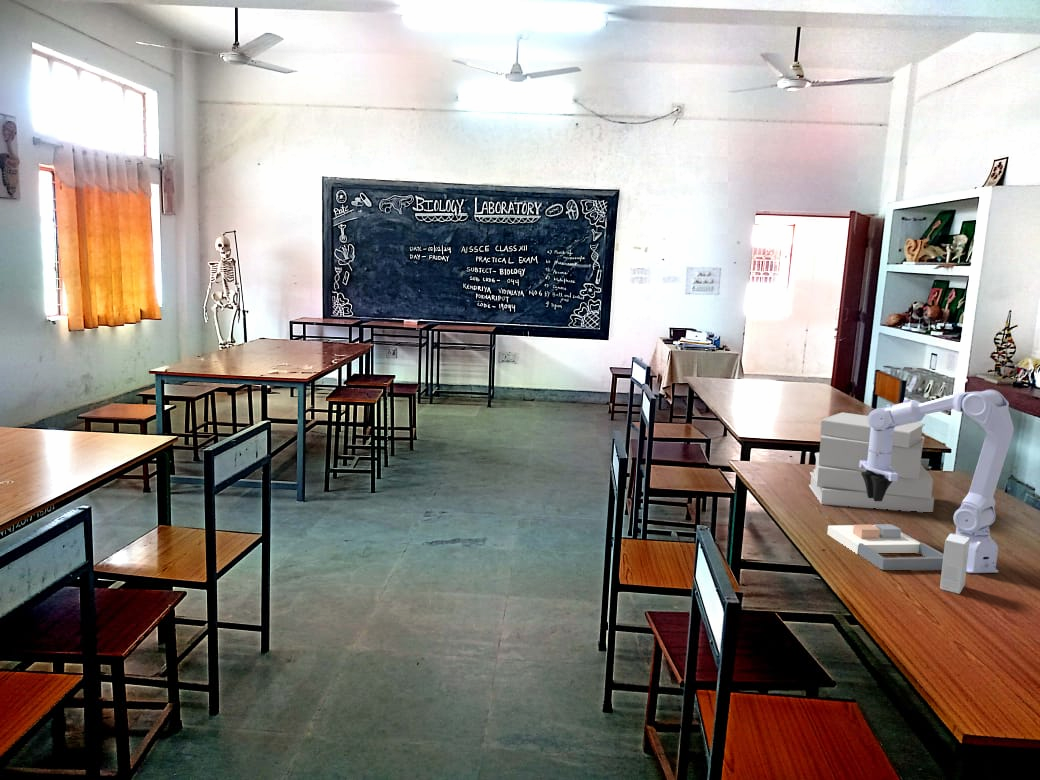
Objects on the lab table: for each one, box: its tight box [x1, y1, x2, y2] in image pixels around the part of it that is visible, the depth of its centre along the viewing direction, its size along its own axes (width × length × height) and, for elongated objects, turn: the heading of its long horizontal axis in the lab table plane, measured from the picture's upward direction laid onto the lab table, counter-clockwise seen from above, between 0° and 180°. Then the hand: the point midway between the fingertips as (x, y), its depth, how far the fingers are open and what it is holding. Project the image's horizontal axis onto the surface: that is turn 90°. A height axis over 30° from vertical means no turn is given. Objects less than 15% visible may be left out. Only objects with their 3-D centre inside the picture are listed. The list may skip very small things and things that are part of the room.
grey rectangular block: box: [874, 523, 902, 539], centre depth 200 cm, size 4×5×2 cm
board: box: [826, 524, 920, 555], centre depth 201 cm, size 15×18×2 cm
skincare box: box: [939, 533, 970, 595], centre depth 173 cm, size 6×4×12 cm
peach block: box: [853, 524, 880, 539], centre depth 199 cm, size 4×5×2 cm
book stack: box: [808, 411, 935, 513], centre depth 241 cm, size 30×35×26 cm
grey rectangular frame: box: [857, 541, 944, 571], centre depth 188 cm, size 11×18×3 cm, turn 96°
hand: (874, 499), depth 206 cm, fingers open, 2 cm apart
